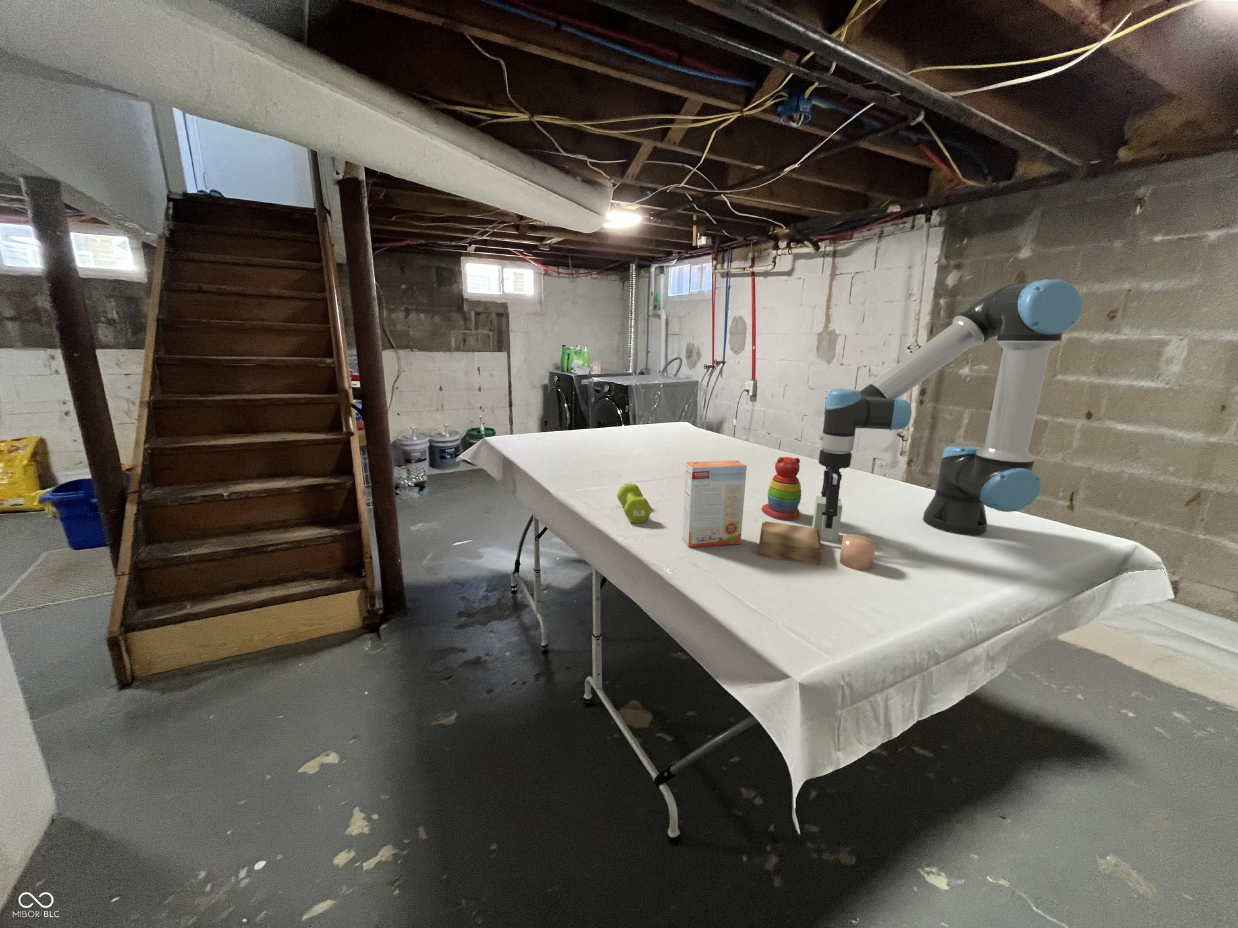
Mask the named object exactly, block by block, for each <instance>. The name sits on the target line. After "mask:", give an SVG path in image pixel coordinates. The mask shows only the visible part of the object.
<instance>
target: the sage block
mask: <svg viewBox="0 0 1238 928" xmlns="http://www.w3.org/2000/svg"><path fill="white" fill-rule="evenodd" d="M825 506H826V497H821V496H819V495H816V496H815V504H814V510H813V519H812V525H811V527H812V528H817V530H819V535H820V541H827V542H833V543H838V539H839V533H840V526H841V519H842V513H843V507H844V506H843V503H842V500H841V498H839V499H838V509H837V516H836V517H835V524H834V531H833V538H832V540H828V539H821V531H822V523H823V516H824V515H822V512H825ZM829 511H833V510H829Z"/></svg>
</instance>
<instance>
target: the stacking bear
mask: <svg viewBox="0 0 1238 928" xmlns="http://www.w3.org/2000/svg"><path fill="white" fill-rule="evenodd" d="M800 462H801V459H800V458H798V457H795V458H794V457H792V456H784V457H781V456H780V457H778V458H777V461H776V462H775V464H774V469H775V473H776V474H774V476H772V479H771V481H770V484H769V486H768V490H767V503H766V504H763V505H762V506H761V511H762V513H764V514H765V515H766V516H768V517H771V518H772V519H774V520H780V521H793V520H797V519H798V518H799V517H800V510H799V505H800V503H801V500H802V485H801V482H800V480H799V478H798V477H797V475H798V474H799V472H800V464H801V463H800Z"/></svg>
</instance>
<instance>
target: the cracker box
mask: <svg viewBox="0 0 1238 928" xmlns="http://www.w3.org/2000/svg"><path fill="white" fill-rule="evenodd" d="M747 467H748V466H747V465H746V464H744V463H743V462H741V461H739V460H714V461H713V460H712V461H710V460H709V461H708V460H707V461H686V462H685V472H684V473H685V474H684V475H685V476H684V477H685V478H684V494H683V495H684V498H683V515H682V516H683V518H682V519H683V521H682V540H683V541H684V543H685V545H687V546H688V548H694V547H696V548H697V547H712V546H727V545H740V544H741V540H742V530H743V518H744V507H745V506H744V504H745V493H746V478H747Z"/></svg>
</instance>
